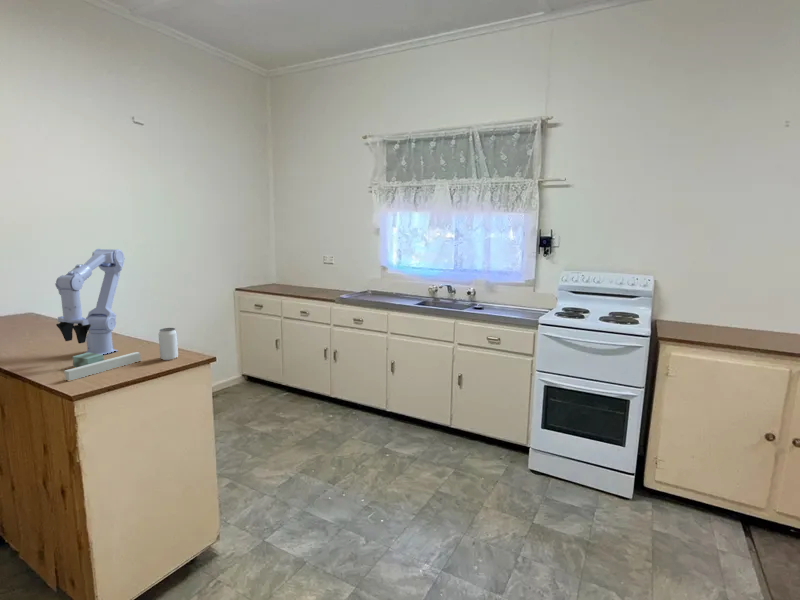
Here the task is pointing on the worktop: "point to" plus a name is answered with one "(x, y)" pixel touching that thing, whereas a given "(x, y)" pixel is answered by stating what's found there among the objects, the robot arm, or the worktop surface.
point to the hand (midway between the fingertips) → (75, 341)
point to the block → (86, 359)
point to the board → (101, 366)
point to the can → (168, 343)
